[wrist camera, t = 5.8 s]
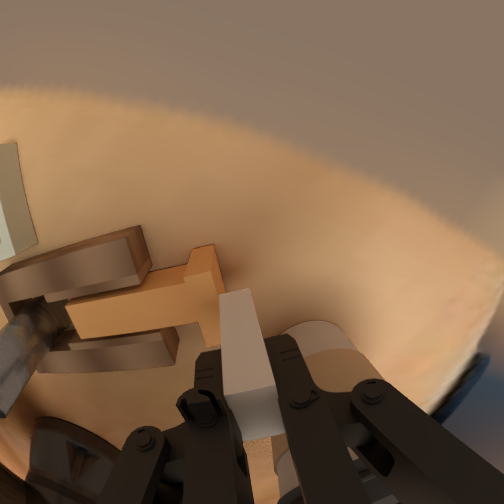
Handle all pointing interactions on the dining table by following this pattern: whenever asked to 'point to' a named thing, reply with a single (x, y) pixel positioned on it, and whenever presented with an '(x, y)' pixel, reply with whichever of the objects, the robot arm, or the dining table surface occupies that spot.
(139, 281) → the socket block
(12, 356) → the dark grey cylinder
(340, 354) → the coffee cup
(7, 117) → the dining table surface
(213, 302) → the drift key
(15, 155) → the square frame
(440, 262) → the dining table surface
